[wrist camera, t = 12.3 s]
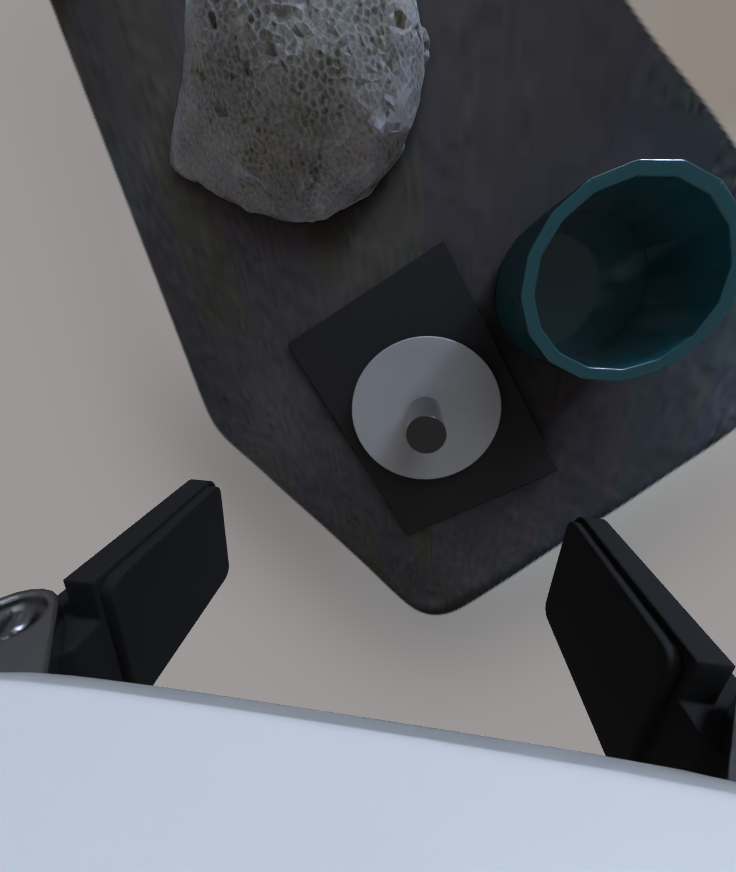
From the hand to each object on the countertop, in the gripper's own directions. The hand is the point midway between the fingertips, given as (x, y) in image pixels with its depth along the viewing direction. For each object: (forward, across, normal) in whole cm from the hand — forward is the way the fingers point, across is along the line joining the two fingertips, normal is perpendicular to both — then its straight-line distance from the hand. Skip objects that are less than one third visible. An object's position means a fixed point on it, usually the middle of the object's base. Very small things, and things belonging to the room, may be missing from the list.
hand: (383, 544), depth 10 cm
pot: (+21, -12, -8) cm, 25 cm away
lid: (+20, -2, +2) cm, 20 cm away
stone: (+22, +8, -19) cm, 30 cm away
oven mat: (+21, -2, +2) cm, 21 cm away
